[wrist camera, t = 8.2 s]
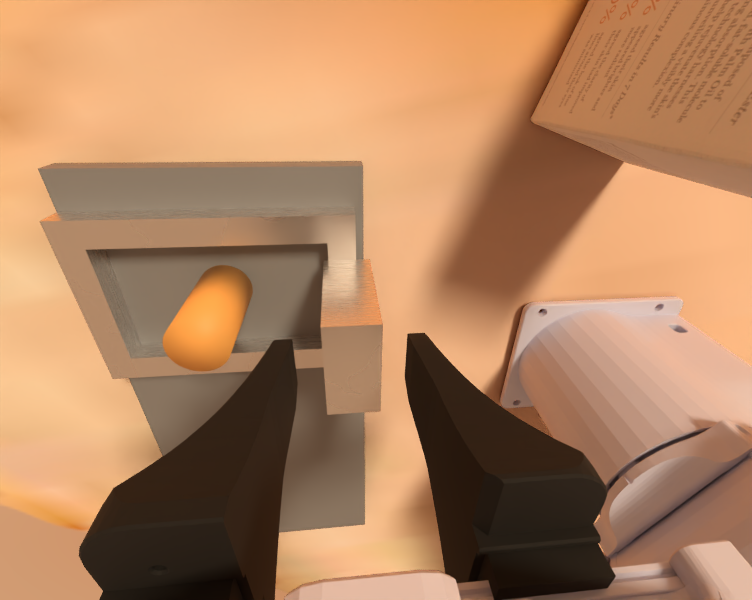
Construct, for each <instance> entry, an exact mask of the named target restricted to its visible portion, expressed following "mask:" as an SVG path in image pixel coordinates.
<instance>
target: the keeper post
mask: <svg viewBox="0 0 752 600" xmlns="http://www.w3.org/2000/svg"><path fill="white" fill-rule="evenodd" d="M252 294H253V287H252V283H251V281H250V279H249V278H248V277H247V275H246V274H245V273H243V272H242V271H241V270H239V269H237V268H235V267H232V266H227V265H218V266H214V267H211V268H209V269H208V270H206V271H205V272H204V273H203V275H202V276H201V278H200V279H199V281H198V282H197V284H196V285H195V287H194V289H193V290H192V292H191V293H190V295H189V296H188V298H187V299H186V301H185V302H184V304H183V306H182V307H181V309H180V310H179V312H178V313H177V315H176V316H175V318H174V319H173V321H172V323H171V324H170V326H169V327H168V329H167V330H166V332H165V334H164V336H163V348H164V350H165V352H166V354H167V356H168V357H169V358H170V359H171V360H172V361H173V362H175V363H176V364H178V365H179V366H181V367H183V368H186V369H189V370H193V371H211V370H215V369H217V368H220V367H221V366H223V365H224V364H225V363H226V362H227V361H228V359H229V357H230V355H231V352H232V349H233V347H234V344H235V341H236V338H237V336H238V333H239V330H240V327H241V325H242V322H243V319H244V316H245V314H246V311H247V308H248V305H249V303H250V300H251V297H252Z"/></svg>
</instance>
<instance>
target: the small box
mask: <svg viewBox="0 0 752 600" xmlns="http://www.w3.org/2000/svg"><path fill="white" fill-rule="evenodd" d="M531 122H532V123H534V124H537V125H539V126H541V127H544V128H546V129H549V130H551V131H553V132H556V133H558V134H560V135H563V136H565V137H567V138H569V139H572V140H574V141H576V142H579V143H581V144H584V145H586V146H588V147H591V148H593V149H596V150H598V151H600V152H602V153H605V154H607V155H609V156H612V157H614V158H616V159H619V160H621V161H624V162H626V163H629V164H632V165H636V166H640V167H643V168H647V169H650V170H654V171H657V172H661V173H664V174H668V175H672V176H675V177H679V178H683V179H686V180H690V181H693V182H697V183H701V184H704V185H708V186H711V187H715V188H718V189H722V190H726V191H729V192H733V193H736V194H740V195H744V196H747V197H751V198H752V0H589V1H588V3H587V5H586V7H585V9H584V11H583V13H582V15H581V17H580V19H579V21H578V24H577V26H576V28H575V30H574V32H573V34H572V36H571V38H570V40H569V42H568V44H567V46H566V48H565V50H564V52H563V54H562V56H561V58H560V60H559V62H558V65H557V67H556V69H555V71H554V73H553V75H552V77H551V79H550V81H549V83H548V85H547V87H546V89H545V91H544V93H543V95H542V97H541V99H540V101H539V103H538V105H537V107H536V109H535V111H534V113H533V115H532V117H531Z"/></svg>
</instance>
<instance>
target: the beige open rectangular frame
mask: <svg viewBox="0 0 752 600" xmlns="http://www.w3.org/2000/svg"><path fill="white" fill-rule="evenodd" d="M40 223H41V226H42V228H43V230H44V232H45V234H46V236H47V238H48V241H49V243H50V245H51V247H52V249H53V251H54V253H55V256H56V258H57V260H58V262H59V264H60V266H61V268H62V271H63V273H64V275H65V277H66V279H67V281H68V284H69V286H70V288H71V290H72V292H73V294H74V296H75V299H76V301H77V303H78V305H79V307H80V309H81V311H82V314H83V316H84V318H85V320H86V322H87V324H88V327H89V329H90V331H91V333H92V335H93V337H94V339H95V342H96V344H97V346H98V348H99V350H100V352H101V354H102V357H103V359H104V361H105V363H106V365H107V367H108V370H109V372H110V374H111V376H112V378H113V379H120V378H138V377H156V376H174V375H192V374H210V373H228V372H246V371H252V370H253V369H254V368H255V366H256V365H257V364H258V362H259V361H260V360H261V358H262V357H263V355H264V354H265V352H266V351H267V349H268V348H269V346H270V345H271V343H272V342H273V341H274V340H281V339H292V341H293V349H294V357H295V365H296V369H300V368H318V367H324V379H325V392H326V404H327V415H332V414H347V413H362V412H377V411H380V408H381V370H382V331H383V323H382V318H381V313H380V308H379V303H378V298H377V293H376V288H375V283H374V278H373V273H372V268H371V263H370V259H365V260H356V225H355V210H354V206H341V207H284V208H226V209H169V210H111V211H59V212H57V213H55V214H53V215H51V216H49V217H47V218H45V219H43V220H41V221H40ZM321 243H327V245H328V261H324V266H323V286H322V307H321V335H302V336H281V337H260V338H239V339H236V341H235V344H234V347H233V349H232V352H231V355H230V357H229V359H228V361H227V362H226V363H225V364H224V365H223V366H221V367H220V368H217V369H215V370H211V371H193V370H189V369H186V368H183V367H181V366H179V365H178V364H176V363H175V362H173V361H172V360H171V359H170V358H169V357H168V356H167V354H166V352H165V350H164V348H163V342H155V343H141V340H140V338H139V335H138V332H137V330H136V327H135V325H134V322H133V319H132V317H131V314H130V312H129V309H128V307H127V304H126V301H125V299H124V296H123V294H122V291H121V288H120V286H119V283H118V281H117V278H116V276H115V273H114V270H113V268H112V265H111V263H110V260H109V257H108V255H107V252H106V250H105V249H130V248H168V247H206V246H245V245H283V244H321Z"/></svg>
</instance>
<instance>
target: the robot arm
mask: <svg viewBox="0 0 752 600" xmlns="http://www.w3.org/2000/svg"><path fill="white" fill-rule="evenodd" d="M682 307H683V300H681V299H680V298H678V297H676V296H668V297H644V298H621V299H597V300H573V301H550V302H532V303H529V304H527V305H526V306H525V307H524V308H523V311H522V315H521V319H520V323H519V326H518V330H517V334H516V338H515V342H514V346H513V350H512V354H511V358H510V362H509V366H508V370H507V374H506V378H505V382H504V386H503V390H502V394H501V398H500V403H501V405H502V406H503V407H504V408H518V407H533V406H534V407H535V409H536V410H537V412H538V414H539V415H540V417H541V419H542V420H543V422H544V423H545V425H546V427H547V428H548V430H549V432H550V433H551V435H552V437H553V438H552V437H550V436H548V435H546V434H544V433H543V432H541V431H539V430H537V429H535V428H534V427H532V426H530V425H528V424H527V423H525V422H523V421H522V420H520V419H518V418H517V417H515V416H514V415H512V414H511V413H509V412H508V411H506V410H505V409H503V408H502V407H501V406H499V405H498V404H496V403H495V402H494V401H492V400H491V399H490V398H489V397H487V396H486V395H485V394H483V393H482V392H481V391H480V390H478V389H477V388H476V387H475V386H474V385H473V384H472V383H471V382H470V381H468V380H467V379H466V378H465V377H464V376H463V375H462V374H461V373H460V372H459V371H458V370H457V369H456V368H455V367H454V366H453V365H452V364H451V363H450V361H449V360H448V359H447V358H446V357H445V356H444V355H443V354H442V353H441V352H440V350H439V349H438V348H437V347H436V346H435V345H434V343H433V342H432V341H431V340H430V339H429V337H428V336H427V335H426V334H425V333H413V334H408V337H407V351H406V366H405V381H406V388H407V394H408V400H409V404H410V407H411V411H412V414H413V418H414V421H415V425H416V428H417V432H418V435H419V438H420V442H421V445H422V449H423V452H424V455H425V459H426V463H427V468H428V473H429V478H430V483H431V489H432V494H433V500H434V505H435V511H436V517H437V523H438V529H439V535H440V541H441V547H442V554H443V560H444V567H445V573H443V572H441V571H438V570H413V571H403V572H393V573H383V574H373V575H363V576H353V577H343V578H333V579H323V580H319V581H314V582H310V583H306V584H302V585H301V586H299V587H297V588H296V589H294V590H293V591H291V592H289V593H288V594H287V595H286V597H285V599H284V600H752V366H751V365H749V364H748V363H746V362H745V361H743V360H742V359H741V358H739V357H738V356H736V355H735V354H733V353H732V352H731V351H729V350H728V349H726V348H725V347H723V346H722V345H721V344H719V343H718V342H716V341H715V340H713V339H712V338H711V337H709V336H708V335H706V334H705V333H703V332H702V331H701V330H699V329H698V328H696V327H695V326H693V325H692V324H691V323H689V322H688V321H686V320H685V319H683V318H682V317H681V316H679V315H678V314H679V312H680V310H681V308H682ZM541 309H543V311H542V312H540V313H538V312H539V311H540V310H541ZM297 386H298V381H297V373H296V365H295V357H294V349H293V341H292V339H281V340H274V341H273V342H272V343H271V345H270V346H269V348H268V349H267V351H266V352H265V354H264V355H263V357H262V358H261V360H260V361H259V362H258V364H257V365H256V366H255V368H254V369H253V370H252V372H251V373H250V374H249V376H248V377H247V378H246V380H245V381H244V382H243V383H242V384H241V386H240V387H239V388H238V389H237V390H236V391H235V393H234V394H233V395H232V396H231V397H230V398H229V399H228V401H227V402H226V403H225V404H224V405H223V406H222V407H221V408H220V409H219V410H218V411H217V412H216V413H215V414H214V415H213V416H212V417H211V418H210V419H209V420H208V421H206V422H205V423H204V424H203V425H202V426H201V427H200V428H199V429H197V430H196V431H195V432H194V433H193V434H191V435H190V436H189V437H188V438H187V439H186V440H184V441H183V442H182V443H180V444H179V445H178V446H176V447H175V448H174V449H173V450H171V451H170V452H168V453H167V454H166V455H164V456H163V457H161V458H160V459H159V460H157V461H156V462H154V463H153V464H151V465H150V466H148V467H147V468H145V469H144V470H142V471H140V472H139V473H137V474H136V475H134V476H132V477H131V478H129V479H128V480H126V481H125V482H123V483H121V484H120V485H118V486H116V487H115V488H113V490H112V492H111V493H110V495H109V496H108V498H107V499H106V501H105V502H104V504H103V505H102V507H101V509H100V511H99V512H98V514H97V516H96V518H95V520H94V522H93V523H92V525H91V527H90V529H89V531H88V533H87V535H86V537H85V539H84V540H83V542H82V544H81V546H80V550H79V557H80V559H81V560H82V563H83V565H84V567H85V568H86V570H87V571H88V572H89V573H90V575H91V576H92V577H93V579H94V580H95V581H96V582H97V584H98V585H99V586H100V587H101V589H102V590H103V593H102V595H101V597H100V600H275V583H276V566H277V551H278V537H279V524H280V511H281V500H282V488H283V478H284V471H285V464H286V459H287V454H288V449H289V443H290V438H291V433H292V428H293V422H294V417H295V411H296V402H297ZM515 400H516V401H515ZM598 514H599V515H600V517H599V519H598V520H597V522H596V523H595V524H593V523H594V522H595V520H596V518H597V516H598ZM598 543H599V544H600V545H601V547H602V549H603V551H604V553H603V552H602V550H601V548H600V547H599V545H598Z"/></svg>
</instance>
